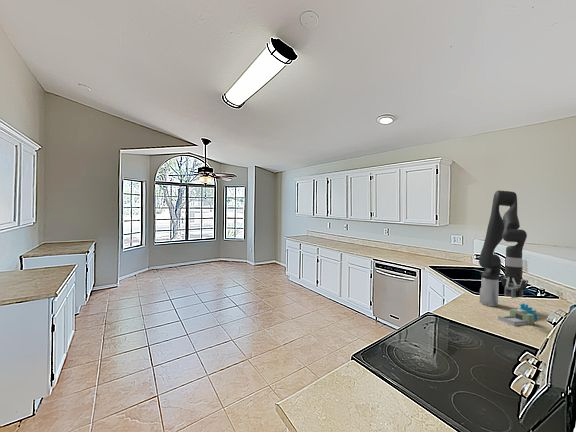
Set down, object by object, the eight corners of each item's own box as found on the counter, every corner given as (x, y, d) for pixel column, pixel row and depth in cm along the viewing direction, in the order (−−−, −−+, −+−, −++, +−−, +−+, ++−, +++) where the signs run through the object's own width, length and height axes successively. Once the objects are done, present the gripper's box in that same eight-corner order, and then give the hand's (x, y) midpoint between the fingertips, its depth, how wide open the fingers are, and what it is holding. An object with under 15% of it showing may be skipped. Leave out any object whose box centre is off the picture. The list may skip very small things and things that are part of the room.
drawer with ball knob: (497, 319, 160) (497, 308, 159) (515, 317, 163) (515, 307, 163) (514, 326, 150) (515, 315, 150) (534, 324, 153) (534, 313, 153)
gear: (530, 318, 156) (518, 302, 163) (521, 323, 160) (509, 307, 167) (544, 319, 159) (531, 303, 166) (534, 324, 163) (523, 308, 170)
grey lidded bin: (513, 294, 159) (513, 286, 159) (522, 297, 154) (523, 288, 154) (503, 295, 157) (504, 286, 157) (513, 298, 152) (513, 289, 152)
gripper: (532, 267, 149) (532, 299, 150) (506, 262, 163) (505, 292, 163) (522, 268, 148) (521, 300, 148) (496, 263, 161) (495, 292, 162)
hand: (513, 295), depth 156 cm, fingers closed on grey lidded bin, 4 cm apart
